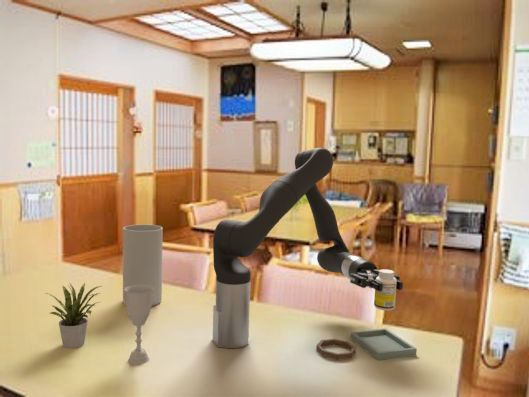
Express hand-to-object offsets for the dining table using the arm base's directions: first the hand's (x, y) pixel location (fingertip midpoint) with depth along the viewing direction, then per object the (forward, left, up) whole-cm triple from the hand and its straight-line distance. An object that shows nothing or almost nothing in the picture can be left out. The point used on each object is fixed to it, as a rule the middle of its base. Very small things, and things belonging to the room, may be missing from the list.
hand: (391, 287), depth 131 cm
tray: (0, +2, -17) cm, 18 cm away
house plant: (-78, +23, -18) cm, 83 cm away
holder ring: (-14, +2, -17) cm, 23 cm away
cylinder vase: (-59, +54, -18) cm, 82 cm away
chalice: (-64, +10, -18) cm, 67 cm away
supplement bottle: (0, +3, -7) cm, 7 cm away
